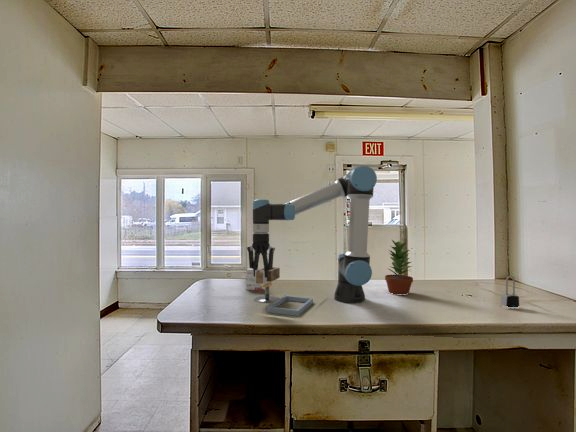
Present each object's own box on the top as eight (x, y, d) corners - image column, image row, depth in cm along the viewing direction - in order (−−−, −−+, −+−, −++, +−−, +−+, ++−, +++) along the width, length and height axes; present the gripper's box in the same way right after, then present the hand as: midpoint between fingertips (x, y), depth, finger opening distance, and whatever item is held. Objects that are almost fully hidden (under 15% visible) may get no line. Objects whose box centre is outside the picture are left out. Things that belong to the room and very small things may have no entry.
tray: (312, 304, 146) (313, 298, 146) (298, 318, 127) (298, 310, 127) (285, 301, 151) (285, 295, 151) (266, 313, 132) (266, 306, 132)
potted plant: (418, 296, 164) (419, 239, 164) (389, 296, 164) (390, 239, 164) (408, 290, 179) (408, 237, 179) (381, 289, 179) (382, 237, 179)
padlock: (513, 306, 148) (513, 275, 148) (520, 309, 144) (520, 276, 144) (499, 306, 148) (500, 274, 148) (506, 309, 143) (506, 276, 143)
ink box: (262, 289, 175) (262, 268, 175) (260, 292, 170) (260, 270, 170) (247, 289, 176) (247, 268, 176) (245, 291, 171) (245, 269, 171)
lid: (284, 299, 155) (284, 282, 155) (274, 306, 143) (274, 287, 143) (260, 296, 159) (261, 279, 159) (248, 303, 147) (249, 285, 147)
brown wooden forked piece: (266, 276, 158) (266, 266, 158) (279, 277, 155) (279, 267, 155) (252, 282, 143) (252, 271, 143) (266, 283, 141) (266, 272, 141)
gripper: (241, 233, 143) (241, 284, 143) (273, 233, 137) (273, 287, 137) (249, 232, 150) (249, 281, 150) (280, 233, 144) (280, 283, 144)
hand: (260, 283), depth 144 cm, fingers closed on brown wooden forked piece, 3 cm apart
